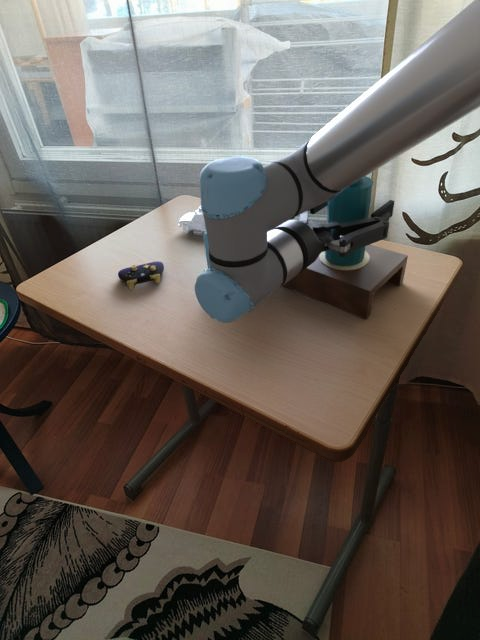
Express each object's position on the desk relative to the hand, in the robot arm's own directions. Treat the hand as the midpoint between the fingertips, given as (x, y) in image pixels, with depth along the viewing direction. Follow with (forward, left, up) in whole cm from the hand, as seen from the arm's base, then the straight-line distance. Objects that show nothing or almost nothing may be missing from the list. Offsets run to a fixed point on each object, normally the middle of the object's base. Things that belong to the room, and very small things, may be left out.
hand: (360, 200), depth 74 cm
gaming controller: (+34, +26, -16) cm, 46 cm away
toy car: (+39, +3, -16) cm, 42 cm away
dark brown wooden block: (0, +4, -15) cm, 16 cm away
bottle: (0, +4, -9) cm, 10 cm away
